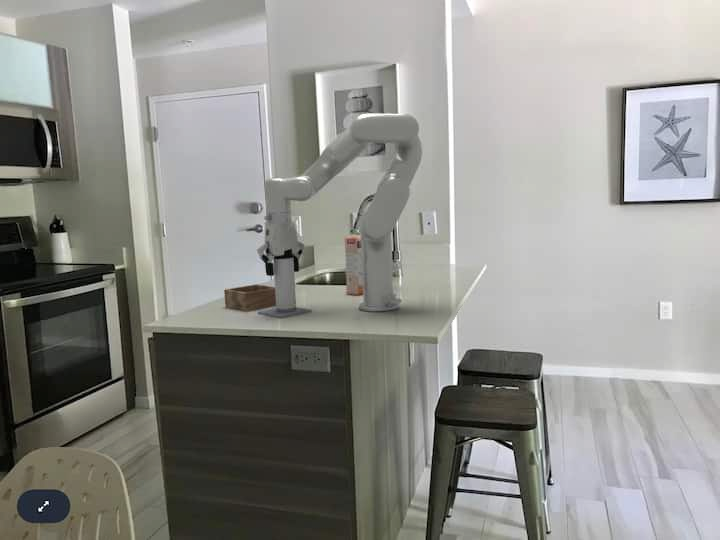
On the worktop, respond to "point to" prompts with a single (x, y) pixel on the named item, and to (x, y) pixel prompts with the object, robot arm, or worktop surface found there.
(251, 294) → the crate
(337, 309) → the worktop surface
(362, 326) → the worktop surface
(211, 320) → the worktop surface
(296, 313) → the mat
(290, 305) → the travel mug
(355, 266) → the cracker box
